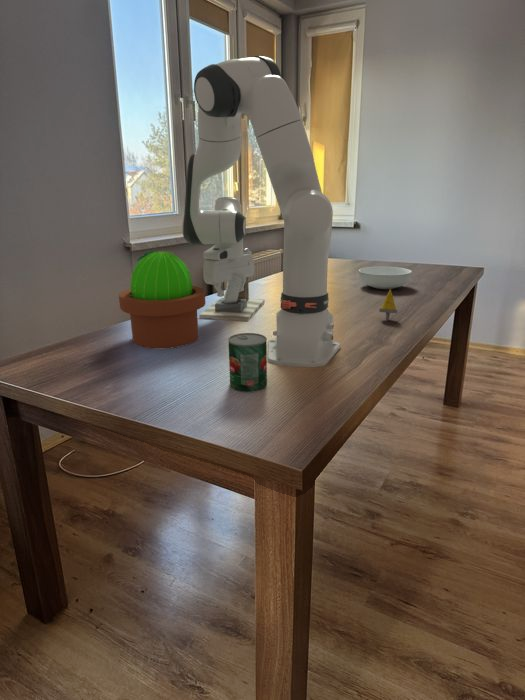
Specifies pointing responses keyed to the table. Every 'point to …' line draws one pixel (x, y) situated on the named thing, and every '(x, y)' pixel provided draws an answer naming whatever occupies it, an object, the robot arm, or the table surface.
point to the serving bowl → (384, 277)
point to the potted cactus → (162, 302)
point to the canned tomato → (248, 362)
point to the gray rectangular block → (233, 289)
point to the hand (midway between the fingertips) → (230, 293)
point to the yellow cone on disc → (388, 305)
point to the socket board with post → (234, 307)
